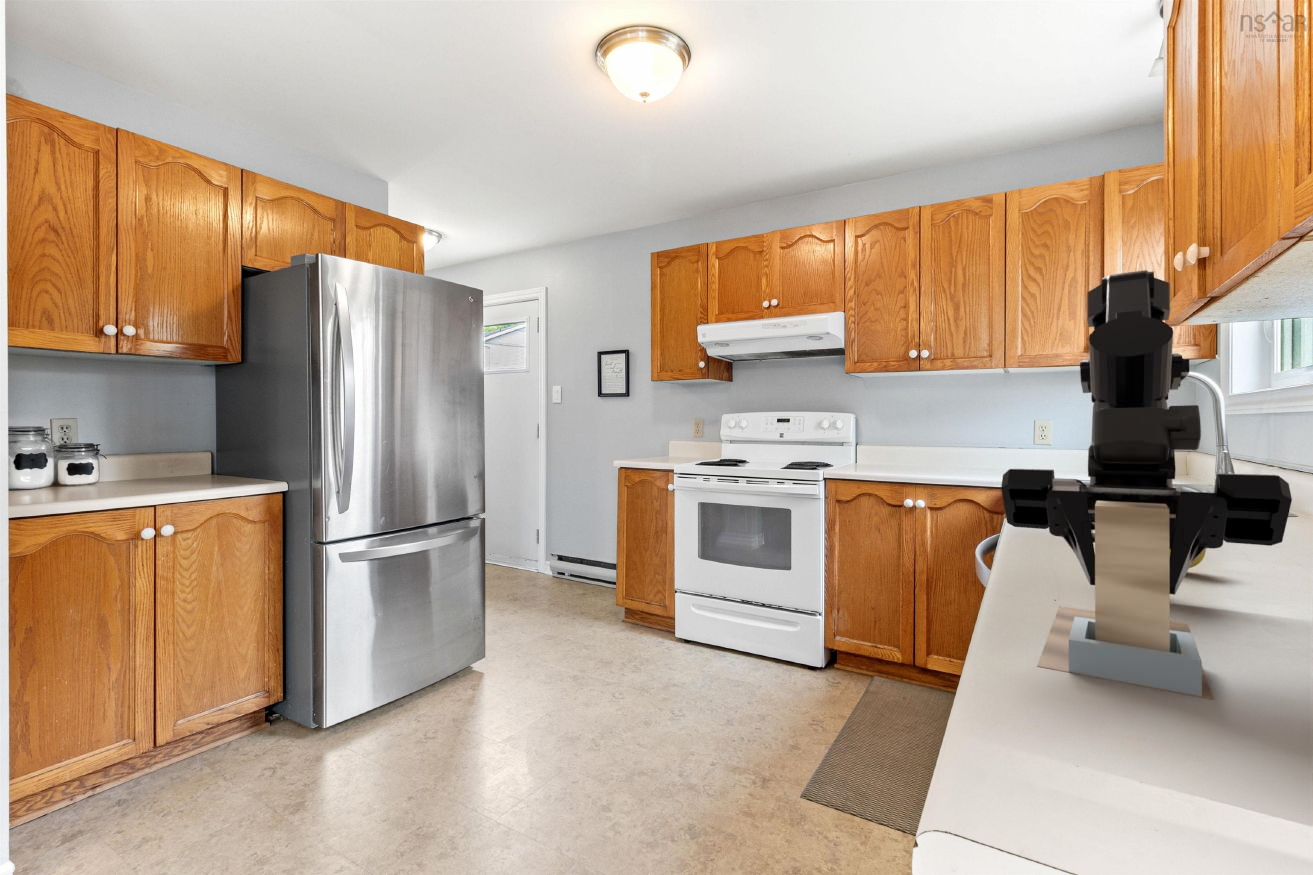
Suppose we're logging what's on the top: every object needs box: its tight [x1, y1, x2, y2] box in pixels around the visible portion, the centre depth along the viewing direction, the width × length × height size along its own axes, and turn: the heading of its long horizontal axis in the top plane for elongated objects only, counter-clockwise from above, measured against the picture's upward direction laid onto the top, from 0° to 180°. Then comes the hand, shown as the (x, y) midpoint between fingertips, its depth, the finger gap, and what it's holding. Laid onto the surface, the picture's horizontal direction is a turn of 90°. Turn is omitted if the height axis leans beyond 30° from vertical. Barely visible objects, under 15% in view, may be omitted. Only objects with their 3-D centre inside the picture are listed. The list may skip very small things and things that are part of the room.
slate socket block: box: [1069, 617, 1203, 698], centre depth 49 cm, size 8×8×2 cm
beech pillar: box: [1094, 501, 1171, 652], centre depth 49 cm, size 4×4×12 cm
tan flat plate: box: [1037, 605, 1214, 701], centre depth 55 cm, size 22×10×1 cm, turn 143°
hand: (1131, 586), depth 48 cm, fingers closed on beech pillar, 4 cm apart
